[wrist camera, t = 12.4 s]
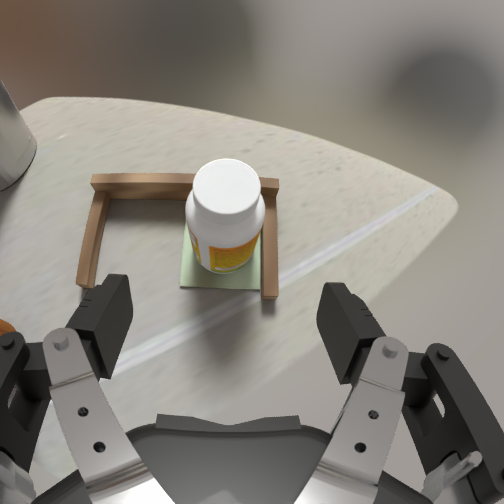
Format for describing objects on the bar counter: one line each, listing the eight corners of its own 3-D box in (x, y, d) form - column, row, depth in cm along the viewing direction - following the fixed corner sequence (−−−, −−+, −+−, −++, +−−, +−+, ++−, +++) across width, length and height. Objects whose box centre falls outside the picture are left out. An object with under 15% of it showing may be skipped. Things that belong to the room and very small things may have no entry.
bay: (82, 287, 23) (67, 279, 20) (102, 190, 26) (92, 174, 23) (274, 299, 24) (282, 292, 22) (272, 195, 28) (278, 179, 25)
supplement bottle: (265, 238, 26) (289, 175, 17) (232, 287, 24) (241, 244, 15) (215, 208, 26) (216, 136, 17) (180, 253, 25) (161, 195, 15)
